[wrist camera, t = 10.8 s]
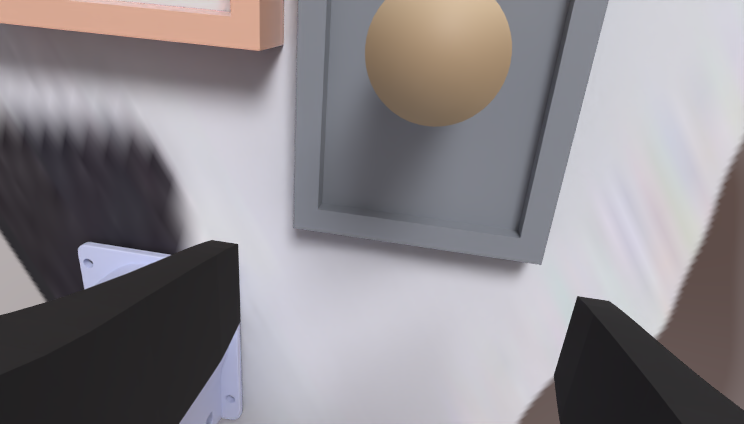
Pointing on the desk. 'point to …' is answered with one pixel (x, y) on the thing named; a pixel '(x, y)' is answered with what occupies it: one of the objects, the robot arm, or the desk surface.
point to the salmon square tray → (157, 20)
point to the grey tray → (440, 137)
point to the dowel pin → (438, 58)
